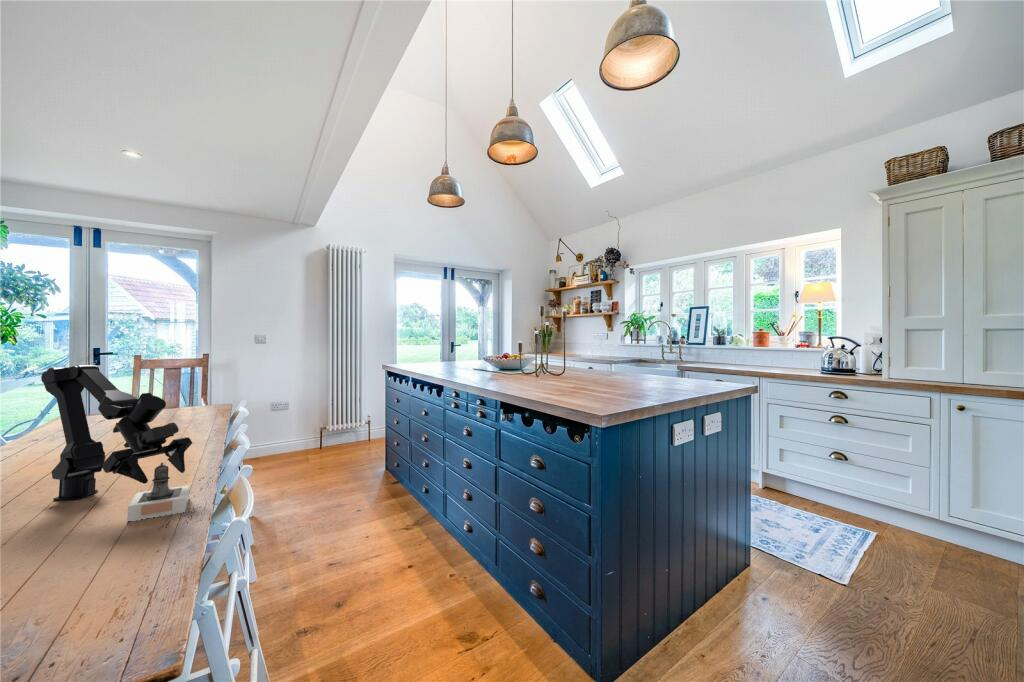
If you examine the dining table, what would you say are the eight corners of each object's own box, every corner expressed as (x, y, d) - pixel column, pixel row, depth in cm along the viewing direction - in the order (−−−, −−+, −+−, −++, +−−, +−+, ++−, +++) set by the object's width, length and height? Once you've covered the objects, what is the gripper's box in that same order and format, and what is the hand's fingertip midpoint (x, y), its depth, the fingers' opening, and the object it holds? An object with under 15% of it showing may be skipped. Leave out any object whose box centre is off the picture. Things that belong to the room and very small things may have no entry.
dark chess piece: (163, 509, 102) (166, 465, 103) (138, 510, 101) (141, 465, 101) (178, 501, 108) (181, 459, 108) (155, 502, 107) (157, 459, 107)
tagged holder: (126, 522, 96) (127, 507, 96) (136, 507, 106) (137, 492, 106) (184, 512, 103) (185, 498, 103) (188, 498, 112) (189, 485, 112)
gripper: (112, 420, 97) (142, 468, 94) (189, 410, 115) (216, 449, 112) (88, 448, 99) (117, 496, 96) (168, 434, 117) (194, 473, 114)
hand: (165, 477), depth 104 cm, fingers open, 9 cm apart
